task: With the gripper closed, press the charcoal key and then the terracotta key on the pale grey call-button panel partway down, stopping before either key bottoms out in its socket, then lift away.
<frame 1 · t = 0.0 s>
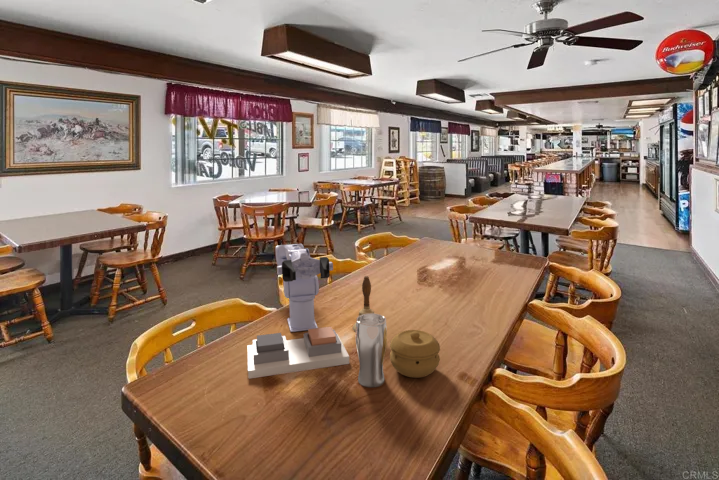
hand: (310, 274, 99), 22 cm above the table, tool horizontal, fingers open, 7 cm apart
beer glass: (371, 381, 93), on the table
terracotta key: (321, 338, 104), point 4 cm above the table, slide at 0.0 cm
button panel: (297, 357, 103), on the table
charcoal key: (270, 344, 100), point 4 cm above the table, slide at 0.0 cm
pot: (414, 371, 97), on the table
hand bell: (366, 328, 120), on the table
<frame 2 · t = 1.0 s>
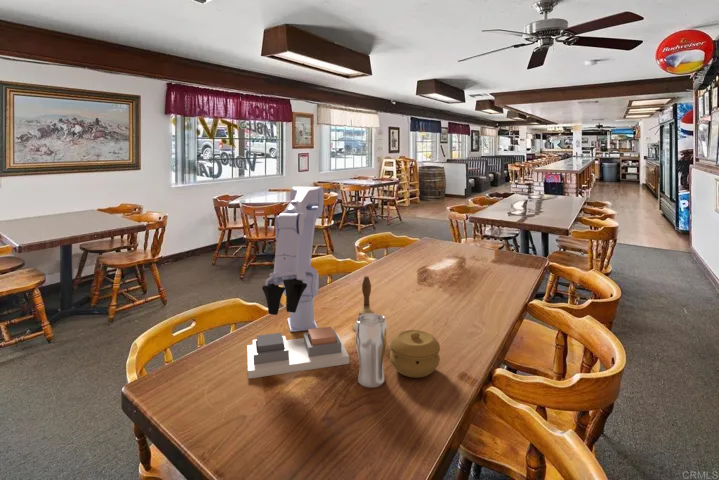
hand: (281, 313, 98), 13 cm above the table, tool tilted 30°, fingers open, 7 cm apart
nothing on the table moved.
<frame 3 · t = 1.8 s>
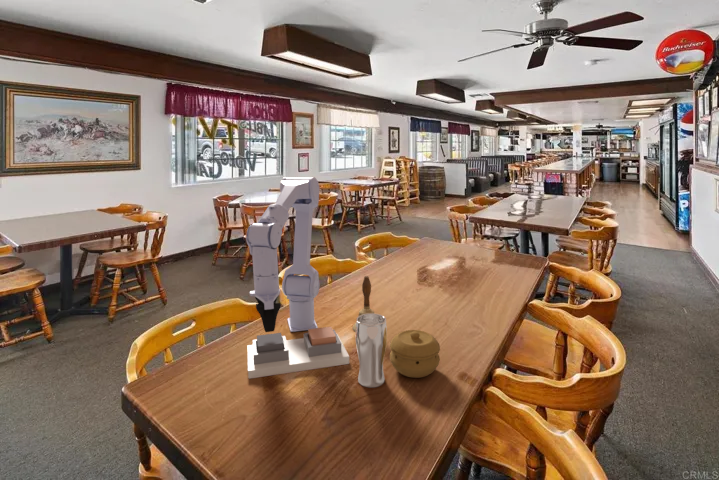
hand: (269, 326, 99), 9 cm above the table, tool pointing down, fingers open, 5 cm apart
nothing on the table moved.
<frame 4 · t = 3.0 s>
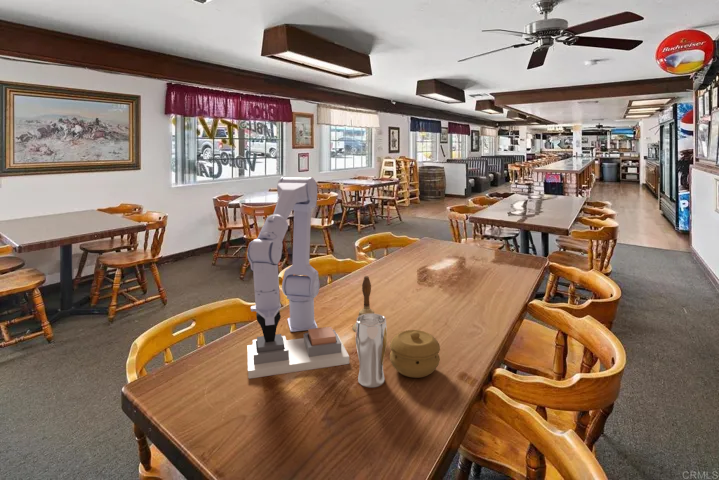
hand: (269, 340, 100), 6 cm above the table, tool pointing down, fingers closed, pressing on charcoal key
charcoal key: (270, 346, 100), point 4 cm above the table, slide at 0.4 cm, touching gripper
everything else where it was.
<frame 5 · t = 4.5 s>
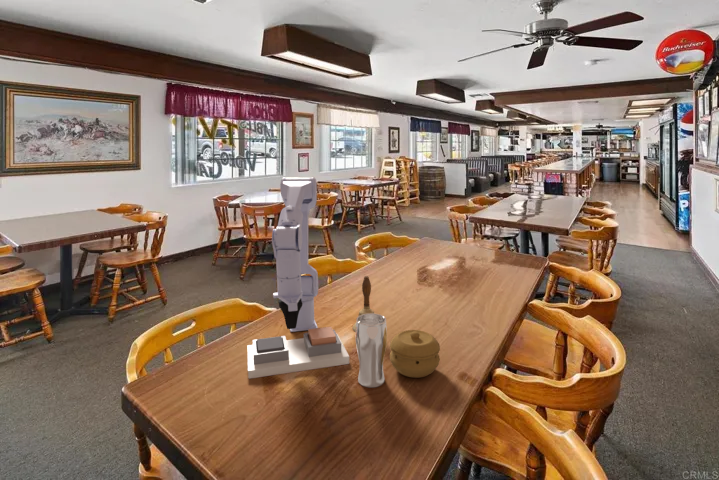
hand: (291, 327, 101), 8 cm above the table, tool pointing down, fingers closed
charcoal key: (270, 348, 101), point 4 cm above the table, slide at 1.0 cm
everything else where it was.
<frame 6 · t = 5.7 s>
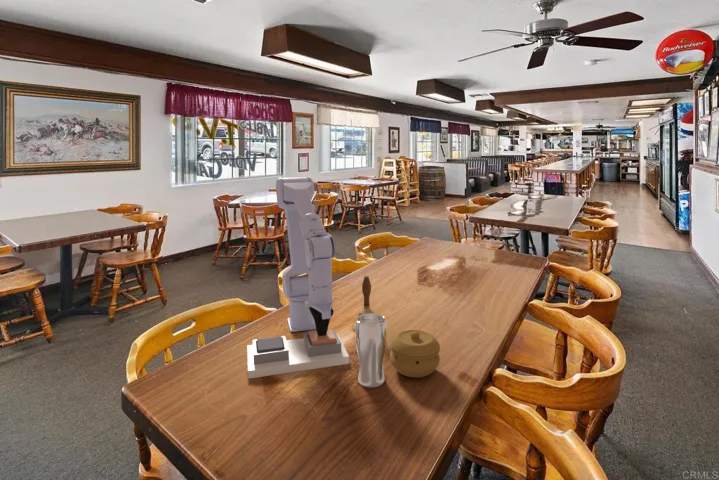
hand: (321, 334, 104), 5 cm above the table, tool pointing down, fingers closed, pressing on terracotta key
terracotta key: (322, 339, 104), point 4 cm above the table, slide at 0.5 cm, touching gripper
everything else where it was.
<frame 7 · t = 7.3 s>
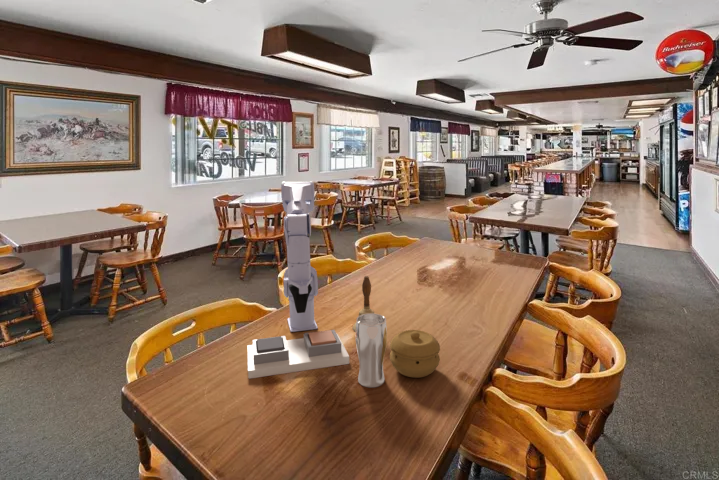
hand: (300, 311, 105), 10 cm above the table, tool pointing down, fingers closed
terracotta key: (322, 341, 104), point 3 cm above the table, slide at 1.0 cm, touching button panel
everything else where it was.
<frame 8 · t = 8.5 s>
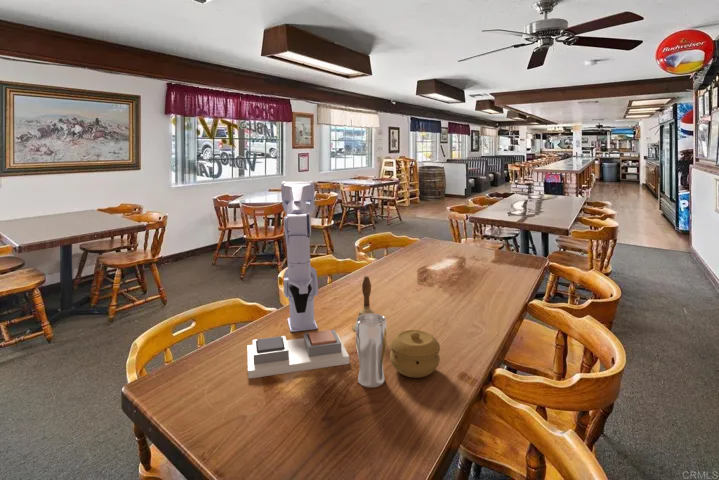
hand: (300, 311, 105), 10 cm above the table, tool pointing down, fingers closed
nothing on the table moved.
at the end: charcoal key slide at 1.0 cm; terracotta key slide at 1.0 cm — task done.
